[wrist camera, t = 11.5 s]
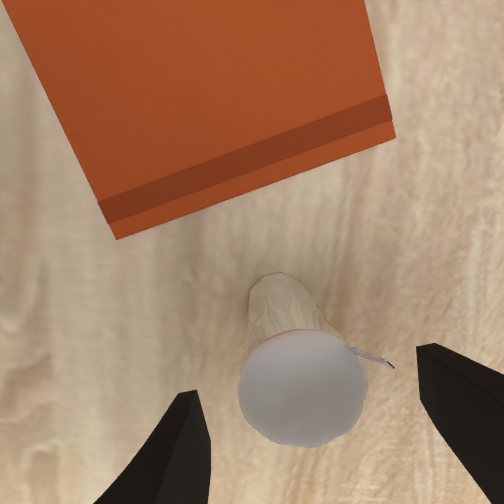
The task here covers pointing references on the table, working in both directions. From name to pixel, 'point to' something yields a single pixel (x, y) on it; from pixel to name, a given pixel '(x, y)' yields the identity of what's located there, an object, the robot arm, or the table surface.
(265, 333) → the milkshake
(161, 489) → the robot arm
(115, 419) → the table surface
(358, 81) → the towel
